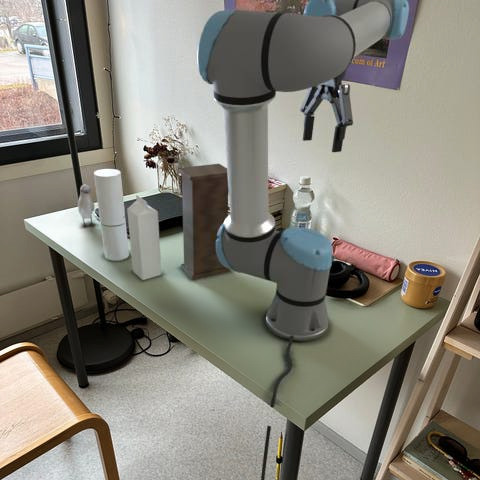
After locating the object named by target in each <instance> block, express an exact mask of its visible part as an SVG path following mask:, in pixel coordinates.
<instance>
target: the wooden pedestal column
mask: <svg viewBox="0 0 480 480" xmlns="http://www.w3.org/2000/svg"><path fill="white" fill-rule="evenodd" d="M177 173H178V174H179V175H180V176H181V200H182V201H181V202H182V203H181V204H182V235H183V237H182V240H183V263H181V264H180V269H181V270H182V271H183V272H184V273H185V274H186V275H187V277H189V279H190V280H191V281H194V280H198V279H203V278H208V277H212V276H216V275H221V274H225V273H230V271H231V269H229V268H226V267H225V266H223V265H222V264H221V263H220V261H219V259H218V256H217V253H216V240H217V239H218V237H217V234H218V231H219V229H220V227H221V225H222V224H223V223H224V222H225V219H226V218H227V217H228V216H229V211H230V205H229V190H228V175H227V166H226V167H225V166H224V165H222V164H221V163H211V164H202V165H193V166H187V167H186V166H185V167H177Z"/></svg>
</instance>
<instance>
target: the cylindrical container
mask: <svg viewBox="0 0 480 480" xmlns="http://www.w3.org/2000/svg"><path fill="white" fill-rule="evenodd" d="M93 178H94V185H95V192H96V193H95V194H96V200H97V209H98V215H99V222H100V229H101V231H100V232H101V237H102V238H101V239H102V246H103V253H104V258H105V259H106V260H109V261H114V262H115V261H117V262H118V261H123V260H125V259H128V257H129V256H130V250H129V241H128V230H127V221H126V212H125V211H126V210H125V202H124V191H123V182H122V172H121V170H119V169H116V168H102V169H97V170H95V171H93Z"/></svg>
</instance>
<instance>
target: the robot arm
mask: <svg viewBox="0 0 480 480" xmlns="http://www.w3.org/2000/svg"><path fill="white" fill-rule="evenodd" d="M409 13H410V4H409V2H408V0H309V1H308V2H307V3H306V5H305V7H304V10H303V14H301V13H300V14H299V13H293V12H292V13H291V12H271V11H258V10H247V9H240V8H237V9H228V10H227V9H225V10H218V11H216V12H215V13H213V14H212V15H210V17H209V18H208V19H207V20H206V22H205V25H203V29H202V32H201V33H200V36H199V39H198V40H199V41H198V45H197V53H196V57H197V58H196V61H197V69H198V74H199V75H200V77H201V79H202V80H203V81H204V82H205V83H207V84H208V85H212V89H213V100H214V101H215V102H216V104H218V105H219V106H221V108H222V117H223V130H224V141H225V142H224V145H225V146H224V147H225V159H226V168H227V175H228V190H229V194H228V205H229V207H230V210H229V214H228V217H227V218H226V219H225V222H224V223H223V224H222V225H221V227H220V229H219V231H218V234H217V237H218V239H217V240H216V253H217V256H218V259H219V261H220V263H221V264H222V265H223V266H225V267H226V268H229V269H230V271H231V270H232V271H233V272H236V273H239V274H243V275H248V276H250V277H251V276H252V277H255V278H259V279H261V280H265V281H269V282H271V283H275V284H276V289H275V295H274V297H273V299H272V301H271V302H270V305H269V307H268V309H267V310H266V311H267V312H266V316H265V324H266V328H268V330H269V331H270V332H271V333H272V334H274V335H276V336H277V337H279V338H281V339H284V340H287V341H288V343H287V346H286V351H285V355H286V356H285V357H286V359H287V362H288V367H287V368H286V370H285V371H284V372H283V373H281V374H280V375H279V376H278V378H277V379H276V381H275V383H274V385H273V390H272V396H271V401H270V405H269V407H270V408H274V407H275V404H276V401H277V394H278V389H279V387H280V383H281V382H282V380H283V379H284V378H285V377H286V376H287V375H288V374H289V373H290V372H291V370H292V368H293V361H292V358H291V355H290V352H291V351H290V350H291V348H292V345H293V342H299V343H300V342H303V343H304V342H312V341H315V340H318V339H320V338H322V337H324V336H325V334H326V333H327V332H328V328H329V322H330V320H329V313H328V308H327V303H326V295H327V289H328V282H329V277H330V272H331V267H332V264H333V261H332V257H333V245H332V243H331V241H330V240H329V238H328V237H327V236H326V235H325V234H323V233H321V232H320V231H317V230H315V229H312V228H309V227H304V226H301V227H298V226H290V227H287V228H286V229H284V230H283V231H279V230H276V219H275V217H274V216H273V215H272V214H271V213H270V212H269V105H270V103H271V102H273V101H274V99H276V95H277V92H280V93H294V92H299V91H304V90H307V91H306V93H305V96H304V99H303V102H302V103H301V107H300V111H299V112H300V113H303V116H304V119H303V134H302V141H304V142H308V141H313V132H314V126H315V125H314V124H315V112H316V111H317V109H319V106H320V105H321V103H322V102H323V101H324V100H325V101H327V102H329V104H330V105H331V107H332V111H333V114H334V117H335V121H336V125H335V127H334V133H333V139H332V146H331V152H332V153H341V152H342V150H343V142H344V140H345V139H346V138H345V137H346V131H347V127H350V126H353V125H354V120H353V118H354V117H353V111H352V110H353V109H352V103H351V94H350V93H351V85H350V84H343V83H342V82H343V80H344V79H345V78H346V75H347V69H348V68H349V67H350V65H351V64H352V62H353V60H354V58H355V57H356V56H358V55H360V54H362V53H363V52H364V51H365V50H368V49H369V48H370V47H371V46H373V45H375V43H377V42H378V41H380V40H382V39H383V40H386V41H389V40H399V39H401V38H402V37H403V35H404V33H405V30H406V27H407V24H408V21H409V20H408V19H409ZM271 431H272V426H270V425H266V432H265V441H264V450H263V459H262V465H261V466H262V467H261V476H260V480H265V479H266V478H265V477H266V471H267V462H268V453H269V446H270V437H271Z"/></svg>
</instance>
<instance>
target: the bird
mask: <svg viewBox="0 0 480 480" xmlns="http://www.w3.org/2000/svg"><path fill="white" fill-rule="evenodd" d="M79 189H80V190H79V191H80V194H79V198H78V201H77V209H78V210H77V211H78V213H79V214H80V217H81V219H82V221H83V225H82V227H85V228H87V227H88V226H90V227H91V226H94V225H96V223H93V220H92V219H93V215H92V214H93V212H94V211H95V203H94V201H93V199H92V195H91V194H92V191H91V188H90V186H89V185H87V184H86V183H85V184H82V185H81V186H80V188H79ZM85 219H86V220H88V219H90V225H88V224H86V223H85Z"/></svg>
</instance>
